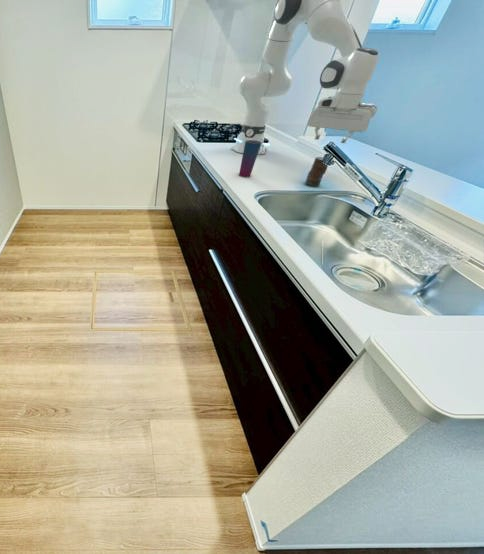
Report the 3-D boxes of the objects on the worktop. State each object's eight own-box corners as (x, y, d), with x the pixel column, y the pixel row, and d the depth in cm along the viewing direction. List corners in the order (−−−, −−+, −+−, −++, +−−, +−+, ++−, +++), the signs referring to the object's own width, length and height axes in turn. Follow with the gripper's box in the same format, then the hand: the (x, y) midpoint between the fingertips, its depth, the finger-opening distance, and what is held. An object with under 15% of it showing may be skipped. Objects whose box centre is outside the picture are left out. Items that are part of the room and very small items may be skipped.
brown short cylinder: (313, 162, 129) (316, 156, 127) (327, 165, 127) (330, 158, 125) (312, 165, 126) (314, 159, 124) (325, 168, 123) (328, 161, 122)
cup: (253, 178, 138) (263, 143, 129) (238, 177, 139) (246, 143, 130) (250, 173, 143) (260, 140, 134) (236, 172, 145) (244, 139, 135)
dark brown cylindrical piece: (305, 181, 135) (313, 162, 129) (320, 184, 132) (328, 165, 127) (303, 185, 131) (310, 165, 126) (318, 188, 128) (326, 168, 123)
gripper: (379, 103, 109) (360, 143, 118) (317, 99, 119) (303, 136, 127) (379, 105, 105) (359, 146, 114) (314, 100, 115) (301, 139, 123)
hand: (329, 141), depth 121 cm, fingers open, 8 cm apart
